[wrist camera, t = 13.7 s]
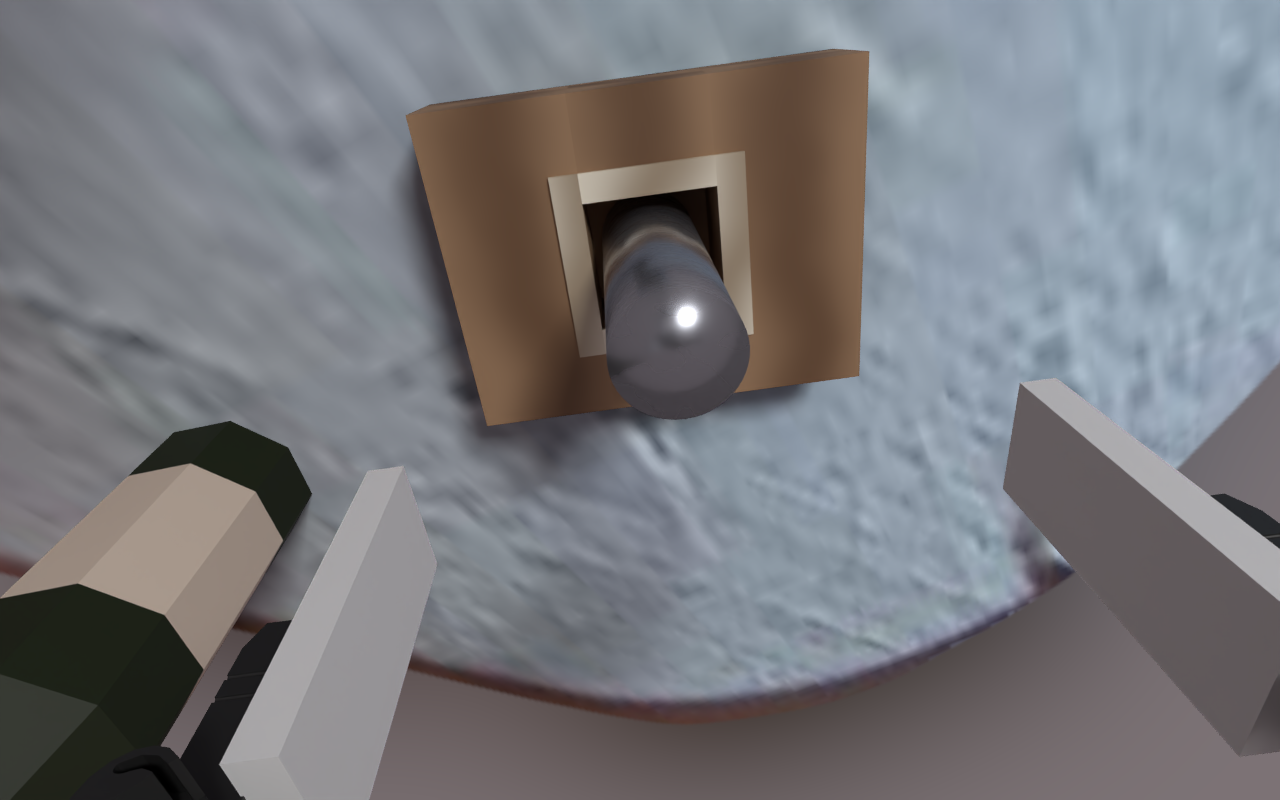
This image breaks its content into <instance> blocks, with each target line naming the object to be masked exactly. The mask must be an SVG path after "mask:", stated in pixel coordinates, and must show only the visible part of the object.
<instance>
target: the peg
mask: <svg viewBox="0 0 1280 800" xmlns="http://www.w3.org/2000/svg"><path fill="white" fill-rule="evenodd" d="M602 249H603V276H604V303H605V330H606V357H607V368H608V372H609V376H610V378H611V381H612V383H613V385H614V387H615V388H616V390H617V391H618V393H619V394H620V395H621V397H622V398H623V399H624V400H625V401H626V402H627V403H629V404H630V405H631V406H633V407H634V408H636V409H637V410H639V411H641V412H643V413H645V414H648V415H650V416H654V417H657V418H663V419H675V420H677V419H687V418H692V417H696V416H699V415H702V414H705V413H707V412H709V411H711V410H713V409H715V408H716V407H718V406H720V405H721V404H722V403H724V402H725V401H726V400H727V399H728V398H729V397H730V396H731V395H732V394H733V393H734V392H735V391H736V389H737V388H738V387H739V385H740V383H741V382H742V380H743V378H744V376H745V374H746V371H747V368H748V364H749V358H750V343H749V337H748V333H747V330H746V328H745V325H744V323H743V321H742V319H741V317H740V315H739V313H738V311H737V309H736V307H735V305H734V303H733V301H732V299H731V297H730V295H729V293H728V291H727V289H726V287H725V285H724V284H723V282H722V280H721V278H720V276H719V274H718V272H717V270H716V268H715V266H714V264H713V262H712V260H711V258H710V256H709V254H708V252H707V250H706V248H705V246H704V244H703V242H702V240H701V238H700V236H699V234H698V232H697V230H696V228H695V226H694V224H693V222H692V220H691V218H690V216H689V214H688V212H687V211H686V209H685V208H684V206H683V205H682V204H681V203H680V202H679V201H678V200H677V199H675V198H674V197H673V196H671V195H669V194H667V193H662V194H654V195H647V196H640V197H632V198H625V199H620V200H619V201H617V202H616V203H615V204H614V205H613V207H612V208H611V209H610V211H609V212H608V214H607V216H606V218H605V221H604V224H603V230H602Z"/></svg>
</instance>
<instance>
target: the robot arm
mask: <svg viewBox="0 0 1280 800" xmlns="http://www.w3.org/2000/svg"><path fill="white" fill-rule="evenodd" d="M1003 489H1004V490H1005V492H1006V493H1007V494H1008V495H1009V496H1010V497H1011V498H1012V500H1013V501H1014V502H1015V503H1016V504H1017V505H1018V506H1019V507H1020V509H1021V510H1022V511H1023V512H1024V513H1025V514H1026V515H1027V517H1028V518H1029V519H1030V520H1031V521H1032V522H1033V523H1034V525H1035V526H1036V527H1037V528H1038V529H1039V530H1040V531H1041V532H1042V534H1043V535H1044V536H1045V537H1046V538H1047V539H1048V540H1049V542H1050V543H1051V544H1052V545H1053V546H1054V547H1055V548H1056V549H1057V551H1058V552H1059V553H1060V554H1061V555H1062V556H1063V557H1064V559H1065V560H1066V561H1067V562H1068V563H1069V564H1070V565H1071V567H1072V568H1073V569H1074V570H1075V571H1076V572H1077V573H1078V574H1079V575H1080V577H1081V578H1082V579H1083V580H1084V581H1085V582H1086V584H1087V585H1088V586H1089V587H1090V588H1091V589H1092V590H1093V591H1094V593H1095V594H1096V595H1097V596H1098V597H1099V598H1100V599H1101V601H1102V602H1103V603H1104V604H1105V605H1106V606H1107V607H1108V609H1109V610H1110V611H1111V612H1112V613H1113V614H1114V615H1115V616H1116V617H1117V619H1118V620H1119V621H1120V622H1121V623H1122V624H1123V626H1124V627H1125V628H1126V629H1127V630H1128V631H1129V632H1130V633H1131V635H1132V636H1133V637H1134V638H1135V639H1136V640H1137V641H1138V643H1139V644H1140V645H1141V646H1142V647H1143V648H1144V649H1145V650H1146V652H1147V653H1148V654H1149V655H1150V656H1151V657H1152V658H1153V660H1154V661H1155V662H1156V663H1157V664H1158V665H1159V666H1160V667H1161V669H1162V670H1163V671H1164V672H1165V673H1166V674H1167V675H1168V677H1169V678H1170V679H1171V680H1172V681H1173V682H1174V683H1175V684H1176V686H1177V687H1178V688H1179V689H1180V690H1181V691H1182V692H1183V694H1184V695H1185V696H1186V697H1187V698H1188V699H1189V700H1190V702H1191V703H1192V704H1193V705H1194V706H1195V707H1196V708H1197V710H1198V711H1199V712H1200V713H1201V714H1202V715H1203V716H1204V717H1205V719H1206V720H1207V721H1208V722H1209V723H1210V724H1211V725H1212V726H1213V728H1214V729H1215V730H1216V731H1217V732H1218V733H1219V735H1220V736H1221V737H1222V738H1223V739H1224V740H1225V741H1226V742H1227V744H1228V745H1229V746H1230V747H1231V748H1232V749H1233V750H1234V751H1235V753H1236V754H1237V755H1238V756H1239V757H1241V756H1248V755H1256V754H1264V753H1272V752H1279V751H1280V523H1278V522H1277V521H1275V520H1274V519H1273V518H1271V517H1270V516H1269V515H1267V514H1266V513H1264V512H1263V511H1261V510H1259V509H1257V508H1255V507H1253V506H1251V505H1248V504H1246V503H1244V502H1242V501H1240V500H1237V499H1235V498H1233V497H1231V496H1229V495H1226V494H1219V495H1211V496H1210V495H1208V494H1207V493H1206V492H1204V491H1203V490H1202V489H1201V488H1199V487H1198V486H1197V485H1195V484H1194V483H1193V482H1191V481H1190V480H1189V479H1187V478H1186V477H1185V476H1184V475H1182V474H1181V473H1180V472H1178V471H1177V470H1176V469H1174V468H1173V467H1172V466H1171V465H1169V464H1168V463H1167V462H1165V461H1164V460H1163V459H1161V458H1160V457H1159V456H1157V455H1156V454H1155V453H1154V452H1152V451H1151V450H1150V449H1148V448H1147V447H1146V446H1144V445H1143V444H1142V443H1140V442H1139V441H1138V440H1137V439H1135V438H1134V437H1133V436H1131V435H1130V434H1129V433H1127V432H1126V431H1125V430H1124V429H1122V428H1121V427H1120V426H1118V425H1117V424H1116V423H1114V422H1113V421H1112V420H1110V419H1109V418H1108V417H1107V416H1105V415H1104V414H1103V413H1101V412H1100V411H1099V410H1097V409H1096V408H1095V407H1093V406H1092V405H1091V404H1090V403H1088V402H1087V401H1086V400H1084V399H1083V398H1082V397H1080V396H1079V395H1078V394H1076V393H1075V392H1074V391H1073V390H1071V389H1070V388H1069V387H1067V386H1066V385H1065V384H1063V383H1062V382H1061V381H1059V380H1058V379H1057V378H1052V379H1045V380H1037V381H1030V382H1023V383H1020V386H1019V392H1018V398H1017V404H1016V411H1015V417H1014V423H1013V429H1012V435H1011V442H1010V448H1009V454H1008V460H1007V467H1006V473H1005V479H1004V485H1003ZM436 568H437V562H436V559H435V556H434V553H433V550H432V547H431V544H430V541H429V538H428V536H427V533H426V530H425V527H424V524H423V521H422V518H421V515H420V512H419V510H418V507H417V504H416V501H415V498H414V495H413V492H412V489H411V486H410V483H409V481H408V478H407V475H406V472H405V469H404V466H400V467H393V468H386V469H378V470H371V471H367V473H366V475H365V477H364V479H363V481H362V483H361V485H360V487H359V489H358V491H357V493H356V495H355V497H354V499H353V501H352V503H351V505H350V507H349V509H348V511H347V513H346V515H345V517H344V519H343V521H342V523H341V525H340V527H339V529H338V531H337V533H336V535H335V537H334V539H333V541H332V543H331V545H330V547H329V549H328V551H327V553H326V554H325V556H324V558H323V560H322V562H321V564H320V566H319V568H318V570H317V572H316V574H315V576H314V578H313V580H312V582H311V584H310V586H309V588H308V590H307V592H306V594H305V596H304V598H303V600H302V602H301V604H300V606H299V608H298V610H297V612H296V614H295V616H294V618H293V620H289V621H282V622H274V623H267V624H266V625H265V626H264V627H263V628H262V629H261V630H260V631H259V632H258V633H257V634H256V635H255V636H254V637H253V638H252V639H251V640H250V641H249V642H248V643H247V644H246V645H245V646H244V647H243V648H242V650H241V652H240V654H239V655H238V657H237V659H236V661H235V662H234V664H233V666H232V668H231V670H230V671H229V673H228V675H227V676H228V679H227V680H225V681H224V682H223V684H222V686H221V687H220V689H219V691H218V693H217V695H216V696H215V703H211V705H210V707H209V709H208V710H207V712H206V714H205V716H204V718H203V719H202V721H201V723H200V725H199V727H198V728H197V730H196V732H195V734H194V736H193V737H192V739H191V741H190V742H189V744H188V746H187V748H186V750H185V751H184V753H183V755H182V757H181V758H180V759H179V757H178V756H177V755H176V754H175V753H174V752H173V751H172V750H171V749H170V748H167V747H161V746H155V745H154V746H149V747H145V748H140V749H136V750H133V751H131V752H129V753H127V754H125V755H123V756H120V757H118V758H116V759H114V760H112V761H111V762H109V763H108V764H107V765H105V766H104V767H102V768H101V769H100V770H98V771H97V772H96V773H94V774H93V775H92V776H90V777H89V778H88V779H87V780H86V781H85V782H84V784H83V785H82V786H81V787H80V788H79V789H78V790H77V791H76V792H75V793H74V794H73V795H72V796H71V798H70V799H69V800H369V799H370V796H371V792H372V789H373V785H374V782H375V778H376V775H377V772H378V768H379V765H380V761H381V758H382V754H383V751H384V748H385V744H386V741H387V737H388V734H389V730H390V727H391V723H392V720H393V717H394V713H395V709H396V706H397V703H398V699H399V695H400V692H401V689H402V685H403V682H404V678H405V675H406V672H407V668H408V665H409V661H410V658H411V654H412V651H413V647H414V644H415V640H416V637H417V634H418V630H419V627H420V623H421V620H422V616H423V613H424V609H425V606H426V602H427V599H428V595H429V592H430V589H431V585H432V582H433V578H434V575H435V571H436Z"/></svg>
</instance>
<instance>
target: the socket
mask: <svg viewBox="0 0 1280 800" xmlns="http://www.w3.org/2000/svg"><path fill="white" fill-rule="evenodd" d="M868 74H869V51H857V50H843V49H829V50H822V51H815V52H807V53H800V54H793V55H786V56H778V57H771V58H764V59H757V60H750V61H742V62H735V63H728V64H721V65H713V66H706V67H699V68H692V69H684V70H677V71H670V72H663V73H656V74H648V75H641V76H634V77H627V78H619V79H612V80H605V81H598V82H590V83H583V84H576V85H569V86H562V87H554V88H547V89H540V90H533V91H525V92H518V93H511V94H504V95H496V96H489V97H482V98H475V99H468V100H460V101H453V102H446V103H439V104H431V105H428V106H426V107H424V108H421V109H419V110H417V111H415V112H412V113H410V114H408V115H406V119H407V123H408V126H409V130H410V134H411V138H412V142H413V145H414V149H415V153H416V157H417V161H418V164H419V168H420V172H421V176H422V180H423V183H424V187H425V191H426V195H427V199H428V202H429V206H430V210H431V214H432V218H433V221H434V225H435V229H436V233H437V237H438V240H439V244H440V248H441V252H442V256H443V260H444V263H445V267H446V271H447V275H448V279H449V282H450V286H451V290H452V294H453V298H454V301H455V305H456V309H457V313H458V317H459V320H460V324H461V328H462V332H463V336H464V339H465V343H466V347H467V351H468V355H469V358H470V362H471V366H472V370H473V374H474V377H475V381H476V385H477V389H478V393H479V396H480V400H481V404H482V408H483V412H484V415H485V419H486V423H487V426H491V425H499V424H506V423H514V422H521V421H529V420H536V419H543V418H551V417H558V416H566V415H573V414H581V413H588V412H595V411H603V410H610V409H618V408H625V407H633V406H631V405H630V404H629V403H627V402H626V401H625V400H624V399H623V398H622V397H621V395H620V394H619V393H618V391H617V390H616V388H615V387H614V385H613V383H612V381H611V378H610V376H609V372H608V368H607V357H606V330H605V303H604V276H603V249H602V230H603V224H604V221H605V218H606V216H607V214H608V212H609V211H610V209H611V208H612V207H613V205H614V204H615V203H616V202H617V201H619V200H620V199H625V198H632V197H640V196H647V195H654V194H662V193H667V194H669V195H671V196H673V197H674V198H675V199H677V200H678V201H679V202H680V203H681V204H682V205H683V206H684V208H685V209H686V211H687V212H688V214H689V216H690V218H691V220H692V222H693V224H694V226H695V228H696V230H697V232H698V234H699V236H700V238H701V240H702V242H703V244H704V246H705V248H706V250H707V252H708V254H709V256H710V258H711V260H712V262H713V264H714V266H715V268H716V270H717V272H718V274H719V276H720V278H721V280H722V282H723V284H724V285H725V287H726V289H727V291H728V293H729V295H730V297H731V299H732V301H733V303H734V305H735V307H736V309H737V311H738V313H739V315H740V317H741V319H742V321H743V323H744V325H745V328H746V330H747V333H748V337H749V343H750V358H749V364H748V368H747V371H746V374H745V376H744V378H743V380H742V382H741V383H740V385H739V387H738V388H737V389H736V391H735V392H734V393H737V392H744V391H751V390H759V389H766V388H774V387H781V386H789V385H796V384H803V383H811V382H818V381H826V380H833V379H841V378H848V377H855V376H859V364H860V332H861V300H862V267H863V235H864V203H865V171H866V139H867V107H868Z"/></svg>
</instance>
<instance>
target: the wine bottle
mask: <svg viewBox="0 0 1280 800" xmlns="http://www.w3.org/2000/svg"><path fill="white" fill-rule="evenodd" d="M311 494H312V493H311V491H310V489H309V487H308V485H307V483H306V481H305V479H304V477H303V475H302V474H301V472H300V470H299V468H298V466H297V464H296V462H295V460H294V458H293V456H292V454H291V452H290V450H289V448H288V447H285V446H283V445H281V444H279V443H277V442H275V441H272V440H270V439H268V438H266V437H264V436H262V435H259V434H257V433H255V432H253V431H251V430H248V429H246V428H244V427H242V426H240V425H238V424H235V423H233V422H231V421H228V422H223V423H218V424H214V425H209V426H204V427H199V428H194V429H189V430H184V431H179V432H174V433H173V434H172V435H171V436H170V437H169V438H168V439H167V440H166V441H164V442H163V443H162V444H161V445H160V446H159V447H158V448H157V449H156V450H155V451H154V452H153V453H152V454H151V455H150V456H149V457H148V458H147V459H146V460H145V461H143V462H142V463H141V464H140V465H139V466H138V467H137V468H136V469H135V470H134V471H133V472H132V473H131V474H130V475H129V476H128V477H127V478H126V479H125V480H123V481H122V482H121V483H120V484H119V485H118V486H117V487H116V488H115V489H114V490H113V491H112V492H111V493H110V494H109V495H108V496H107V497H106V498H105V499H103V500H102V501H101V502H100V503H99V504H98V505H97V506H96V507H95V508H94V509H93V510H92V511H91V512H90V513H89V514H88V515H87V516H86V517H85V518H84V519H82V520H81V521H80V522H79V523H78V524H77V525H76V526H75V527H74V528H73V529H72V530H71V531H70V532H69V533H68V534H67V535H66V536H65V537H64V538H62V539H61V540H60V541H59V542H58V543H57V544H56V545H55V546H54V547H53V548H52V549H51V550H50V551H49V552H48V553H47V554H46V555H45V556H44V557H42V558H41V559H40V560H39V561H38V562H37V563H36V564H35V565H34V566H33V567H32V568H31V569H30V570H29V571H28V572H27V573H26V574H25V575H24V576H23V577H21V578H20V579H19V580H18V581H17V582H16V583H15V584H14V585H13V586H12V587H11V588H10V589H9V590H8V591H7V592H6V593H5V594H4V595H3V596H2V597H0V800H69V799H70V798H71V796H72V795H73V794H74V793H75V792H76V791H77V790H78V789H79V788H80V787H81V786H82V785H83V784H84V782H85V781H86V780H87V779H88V778H89V777H90V776H92V775H93V774H94V773H96V772H97V771H98V770H100V769H101V768H102V767H104V766H105V765H107V764H108V763H109V762H111V761H112V760H114V759H116V758H118V757H120V756H123V755H125V754H127V753H129V752H131V751H133V750H136V749H140V748H145V747H149V746H154V745H155V746H161V744H162V742H163V741H164V739H165V737H166V736H167V734H168V732H169V731H170V729H171V727H172V726H173V724H174V723H175V721H176V719H177V718H178V716H179V714H180V713H181V711H182V709H183V708H184V706H185V704H186V703H187V701H188V699H189V698H190V696H191V695H192V693H193V691H194V690H195V688H196V686H197V684H198V683H199V682H200V680H201V678H202V676H203V675H204V673H205V672H206V670H207V668H208V667H209V665H210V664H211V662H212V660H213V659H214V657H215V655H216V654H217V652H218V650H219V649H220V647H221V645H222V644H223V642H224V640H225V639H226V637H227V636H228V634H229V632H230V631H231V629H232V627H233V626H234V624H235V622H236V621H237V619H238V618H239V616H240V614H241V613H242V611H243V609H244V608H245V606H246V604H247V603H248V601H249V600H250V598H251V596H252V595H253V593H254V591H255V590H256V588H257V586H258V585H259V583H260V581H261V580H262V578H263V577H264V575H265V573H266V572H267V570H268V568H269V567H270V565H271V563H272V562H273V560H274V558H275V557H276V555H277V554H278V552H279V550H280V549H281V547H282V545H283V544H284V542H285V540H286V539H287V537H288V535H289V534H290V532H291V531H292V529H293V527H294V525H295V523H296V521H297V520H298V518H299V516H300V514H301V512H302V511H303V509H304V507H305V505H306V503H307V502H308V500H309V498H310V496H311Z"/></svg>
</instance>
